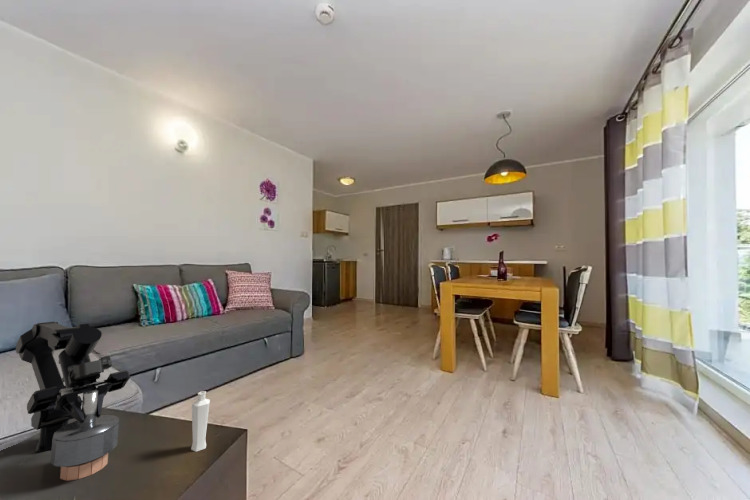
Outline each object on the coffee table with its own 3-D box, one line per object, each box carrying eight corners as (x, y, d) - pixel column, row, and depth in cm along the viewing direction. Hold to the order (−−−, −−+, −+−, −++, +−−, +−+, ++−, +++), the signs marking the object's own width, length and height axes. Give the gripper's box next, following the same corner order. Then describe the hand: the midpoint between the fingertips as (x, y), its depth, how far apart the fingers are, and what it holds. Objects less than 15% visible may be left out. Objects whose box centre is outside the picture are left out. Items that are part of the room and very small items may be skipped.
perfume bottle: (200, 453, 83) (203, 396, 84) (186, 451, 83) (189, 395, 84) (212, 444, 87) (215, 390, 88) (199, 442, 88) (202, 389, 89)
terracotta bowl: (61, 467, 76) (62, 455, 76) (106, 454, 82) (107, 442, 82) (59, 485, 70) (60, 471, 70) (108, 469, 75) (109, 456, 76)
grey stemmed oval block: (72, 441, 80) (77, 385, 81) (126, 435, 83) (130, 381, 84) (36, 470, 69) (42, 404, 69) (101, 461, 72) (105, 399, 73)
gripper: (35, 356, 71) (48, 417, 65) (129, 341, 88) (146, 388, 82) (21, 384, 75) (32, 444, 69) (114, 364, 91) (130, 411, 85)
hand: (90, 419), depth 76 cm, fingers closed on grey stemmed oval block, 3 cm apart
